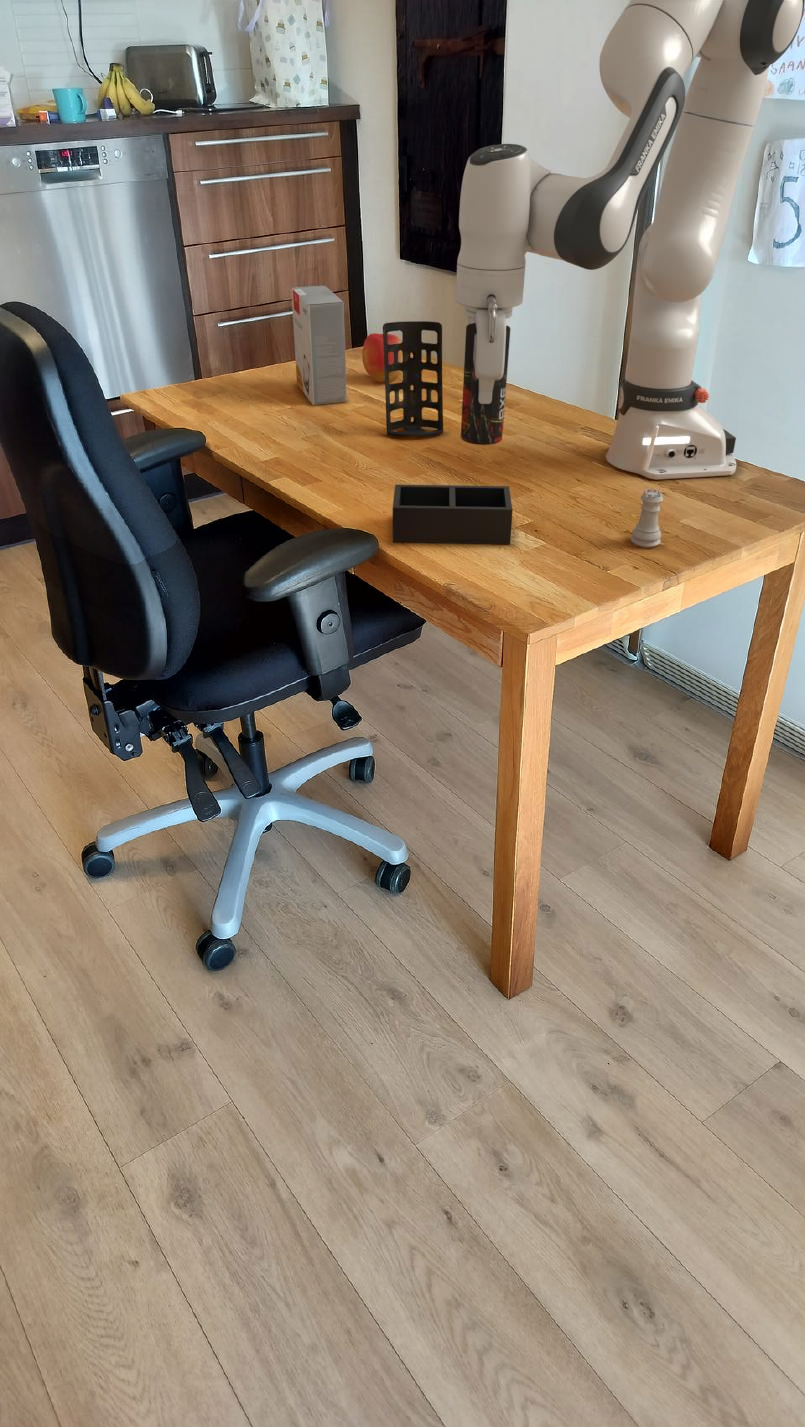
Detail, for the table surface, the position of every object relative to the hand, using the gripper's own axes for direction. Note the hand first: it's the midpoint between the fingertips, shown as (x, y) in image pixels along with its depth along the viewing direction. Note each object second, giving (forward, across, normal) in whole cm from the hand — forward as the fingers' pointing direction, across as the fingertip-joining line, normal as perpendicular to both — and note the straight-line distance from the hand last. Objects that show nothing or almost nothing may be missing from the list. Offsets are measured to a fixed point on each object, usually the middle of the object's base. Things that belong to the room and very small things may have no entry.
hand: (483, 394), depth 138 cm
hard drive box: (+22, +72, +30) cm, 81 cm away
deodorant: (+6, 0, 0) cm, 6 cm away
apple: (+22, +82, +16) cm, 87 cm away
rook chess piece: (+21, -1, -25) cm, 33 cm away
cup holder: (+22, +2, +4) cm, 22 cm away
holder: (+22, +48, +10) cm, 54 cm away
